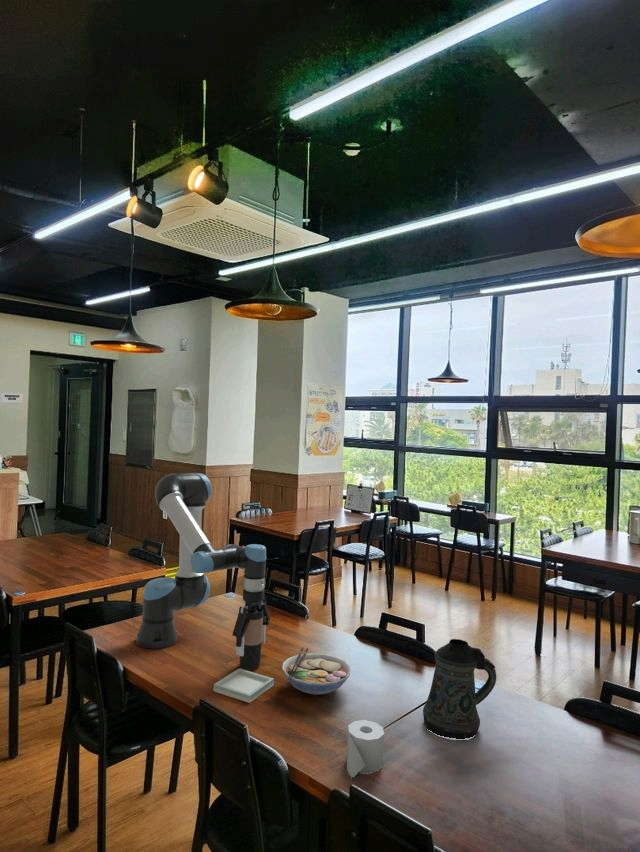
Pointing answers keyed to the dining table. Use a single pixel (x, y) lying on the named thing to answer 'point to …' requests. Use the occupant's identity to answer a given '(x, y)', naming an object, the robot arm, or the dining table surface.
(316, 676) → the ramen bowl
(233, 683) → the square plate
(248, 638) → the travel mug
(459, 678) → the beer stein
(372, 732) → the toilet tissue
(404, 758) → the dining table surface
